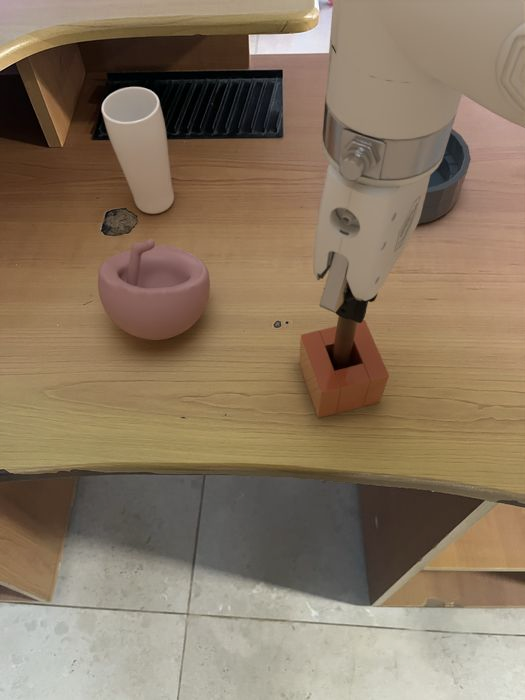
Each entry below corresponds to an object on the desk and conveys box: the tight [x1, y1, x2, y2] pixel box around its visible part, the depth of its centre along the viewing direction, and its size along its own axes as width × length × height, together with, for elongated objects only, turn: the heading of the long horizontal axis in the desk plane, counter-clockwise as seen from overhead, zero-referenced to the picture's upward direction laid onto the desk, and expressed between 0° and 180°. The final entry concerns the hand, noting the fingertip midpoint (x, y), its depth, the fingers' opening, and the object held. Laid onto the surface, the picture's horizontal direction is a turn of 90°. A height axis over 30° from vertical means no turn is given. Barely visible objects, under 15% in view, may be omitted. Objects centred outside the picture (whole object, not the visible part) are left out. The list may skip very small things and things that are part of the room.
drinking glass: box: [101, 86, 175, 215], centre depth 71 cm, size 7×7×15 cm
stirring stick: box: [331, 315, 357, 371], centre depth 54 cm, size 2×2×20 cm
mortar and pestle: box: [97, 238, 211, 341], centre depth 63 cm, size 12×12×12 cm
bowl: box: [417, 128, 472, 225], centre depth 75 cm, size 15×15×6 cm
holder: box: [298, 318, 390, 419], centre depth 60 cm, size 7×7×6 cm
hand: (352, 303), depth 50 cm, fingers closed on stirring stick, 1 cm apart
